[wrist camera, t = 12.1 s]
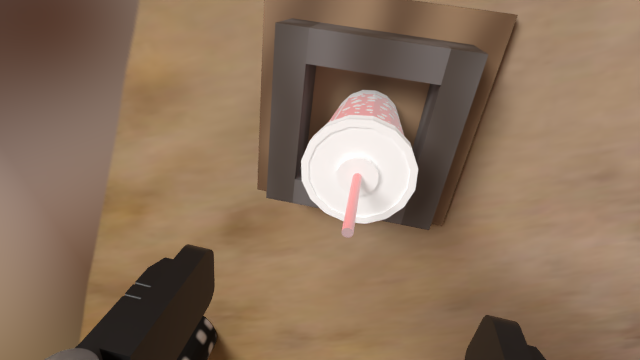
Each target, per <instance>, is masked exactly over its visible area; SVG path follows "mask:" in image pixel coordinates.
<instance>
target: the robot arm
mask: <svg viewBox="0 0 640 360" xmlns="http://www.w3.org/2000/svg"><path fill="white" fill-rule="evenodd" d="M213 293H214V254H213V251H212V250H210V249H206V248H202V247H197V246H193V245H189V244H188V245H186V246H184V247H183V248H182V250H181V251H180V252H179V253H178V254H177V256H176V257H175V258H174V259H169V258H164V259H162V260H160V261H159V262H157V263H155V264H154V265H152V266H150V267H149V268H147V270H146V271H145V272H144V273H143V274H142V275H141V276H140V277H139V278H138V280H137V281H136V283H135V285H134V284H133V285H132V286H131V287H130V288H129V290H128V291H127V292H126V293H125V296H122V297H121V298H120V300H119V301H118V302H117V303H116V304H115V305H114V306H113V307H112V308H111V310H110V311H109V312H108V313H107V314H106V315H105V316H104V317H103V318H102V320H101V321H100V322H99V323H98V324H97V325H96V326H95V327H94V328H93V330H92V331H91V332H90V333H89V334H88V335H87V336H86V337H85V338H84V340H83V341H82V342H81V343H80V344H79V345H78V346H76V347H75V348H74V349H68V350H64V351H61V352H58V353H56V354H54V355H52V356H50V357H48V358H46V359H45V360H177V358H178V357H179V355H180V353H181V352H182V350H183V348H184V347H185V345H186V343H187V342H188V340H189V338H190V337H191V335H192V333H193V331H194V330H195V328H196V326H197V325H198V323H199V321H200V320H201V318H202V316H203V315H204V313H205V311H206V310H207V308H208V306H209V304H210V302H211V299H212V296H213ZM465 360H546V359H545V358H544V357H543V355H542V354H541V353H540V351H539V350H538V349H537V348H536V347H534V346H529V345H527V343H526V341H525V338H524V335H523V333H522V330H521V328H520V326H519V324H518V323H517V322H515V321H511V320H506V319H502V318H498V317H494V316H489V315H486V316H485V317H484V318H483V319H482V321H481V323H480V325H479V327H478V329H477V331H476V333H475V335H474V337H473V338H472V340H471V342H470V344H469V346H468V348H467V351H466V355H465Z"/></svg>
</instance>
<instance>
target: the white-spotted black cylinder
mask: <svg viewBox="0 0 640 360" xmlns="http://www.w3.org/2000/svg"><path fill="white" fill-rule="evenodd" d="M216 339H217V336H216V331H215V329H214V327H213V326H212V324H211V323H210V322H209V321H208V320H207V319H206V318H205V317H204V316H202V318H201V320H200V321H199V323H198V325H197V326H196V328H195V330H194V331H193V333H192V335H191V337H190V338H189V340H188V342H187V343H186V345H185V347H184V348H183V350H182V352H181V353H180V355H179V357H178V358H177V360H207V359H208V357H209V355H210V353H211V351H212V349H213V347H214V345H215V343H216Z"/></svg>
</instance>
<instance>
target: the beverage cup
mask: <svg viewBox="0 0 640 360" xmlns="http://www.w3.org/2000/svg"><path fill="white" fill-rule="evenodd" d="M417 174H418V166H417V162H416V159H415V156H414V153H413V150H412V147H411V144H410V142H409V141H408V140H407V138H406V137H405V136H404V133H403V130H402V126H401V123H400V119H399V116H398V113H397V109H396V106H395V104H394V103H393V102H392V101H391V100H390V99H389V98H388V96H386V95H384V94H382V93H380V92H378V91H375V90H361V91H359V92H356V93H353V94H351V95H350V96H349V97H348V98H346V99H345V100H344V101H343V102H342V103H341V105H340V106H339V108H338V109H337V111H336V112H335V113H334V115H333V116H332V118H331V119H330V120H329V122H328V123H327V124H326V125H325V126H324V127H323V128H321V129H320V130H319V131H318V132H317V133H316V134H315V135H314V136H313V137H312V139H311V140H310V141H309V143H308V146H307V148H306V150H305V153H304V155H303V157H302V160H301V175H302V182H303V185H304V187H305V189H306V191H307V193H308V195H309V197H310V199H311V200H312V201H313V202H314V203H315V204H316V205H317V206H318V207H319V208H320V209H321V210H323V211H324V212H325V213H326V214H329V215H331V216H333V217H335V218H337V219H340V220H342V221H344V222H343V227H342V235H343V236H344V237H351V236H353V233H354V226H355V223H364V224H367V223H371V222H375V221H379V220H384V219H387V218H388V217H390V216H391V215H393V214H394V213H396V212H397V211H399V210H400V209H402V208H403V207H404V206H405V205H406V203H407V202H408V200H409V199H410V197H411V196H412V194H413V193H414V191H415V188H416V181H417Z"/></svg>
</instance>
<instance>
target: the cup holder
mask: <svg viewBox="0 0 640 360" xmlns="http://www.w3.org/2000/svg"><path fill="white" fill-rule="evenodd" d="M517 16H518V15H514V14H507V13H500V12H492V11H485V10H478V9H471V8H463V7H456V6H449V5H441V4H434V3H427V2H420V1H412V0H264V20H263V48H262V76H261V104H260V132H259V160H258V188H257V189H259V190H264V191H267V197H266V198H270V199H275V200H281V201H286V202H291V203H296V204H301V205H306V206H311V207H316V208H319V207H318V206H317V205H316V204H315V203H314V202H313V201H312V200H311V199H310V197H309V195H308V193H307V191H306V189H305V187H304V185H303V182H302V175H301V160H302V157H303V155H304V153H305V150H306V148H307V146H308V143H309V141H310V140H311V139H312V137H313V136H314V135H315V134H316V133H317V132H318V131H319V130H320V129H321V128H323V127H324V126H325V125H326V124H327V123H328V122H329V120H330V119H331V118H332V116H333V115H334V113H335V112H336V111H337V109H338V108H339V106H340V105H341V103H342V102H343V101H344V100H345V99H346V98H348V97H349V96H350V95H351V94H353V93H356V92H359V91H361V90H375V91H378V92H380V93H382V94H384V95H386V96H388V98H389V99H390V100H391V101H392V102H393V103H394V104H395V106H396V109H397V113H398V116H399V119H400V123H401V126H402V130H403V133H404V136H405V137H406V138H407V140H408V141H409V142H410V144H411V147H412V150H413V153H414V156H415V159H416V162H417V166H418V174H417V181H416V188H415V191H414V193H413V194H412V196H411V197H410V199H409V200H408V202H407V203H406V205H405V206H404V207H403V208H402V209H400V210H399V211H397V212H396V213H394V214H393V215H391V216H390V217H388V218H387V219H384V220H381V221H386V222H391V223H396V224H401V225H406V226H411V227H416V228H421V229H426V230H429V229H430V226H431V224H436V225H441V226H442V225H443V222H444V219H445V216H446V214H447V211H448V208H449V205H450V202H451V200H452V197H453V194H454V191H455V188H456V186H457V183H458V180H459V177H460V175H461V172H462V169H463V166H464V163H465V161H466V158H467V155H468V152H469V149H470V147H471V144H472V141H473V138H474V136H475V133H476V130H477V127H478V124H479V122H480V119H481V116H482V113H483V110H484V108H485V105H486V102H487V99H488V97H489V94H490V91H491V88H492V85H493V83H494V80H495V77H496V74H497V71H498V69H499V66H500V63H501V60H502V58H503V55H504V52H505V49H506V46H507V44H508V41H509V38H510V35H511V32H512V30H513V27H514V24H515V21H516V19H517Z"/></svg>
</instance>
